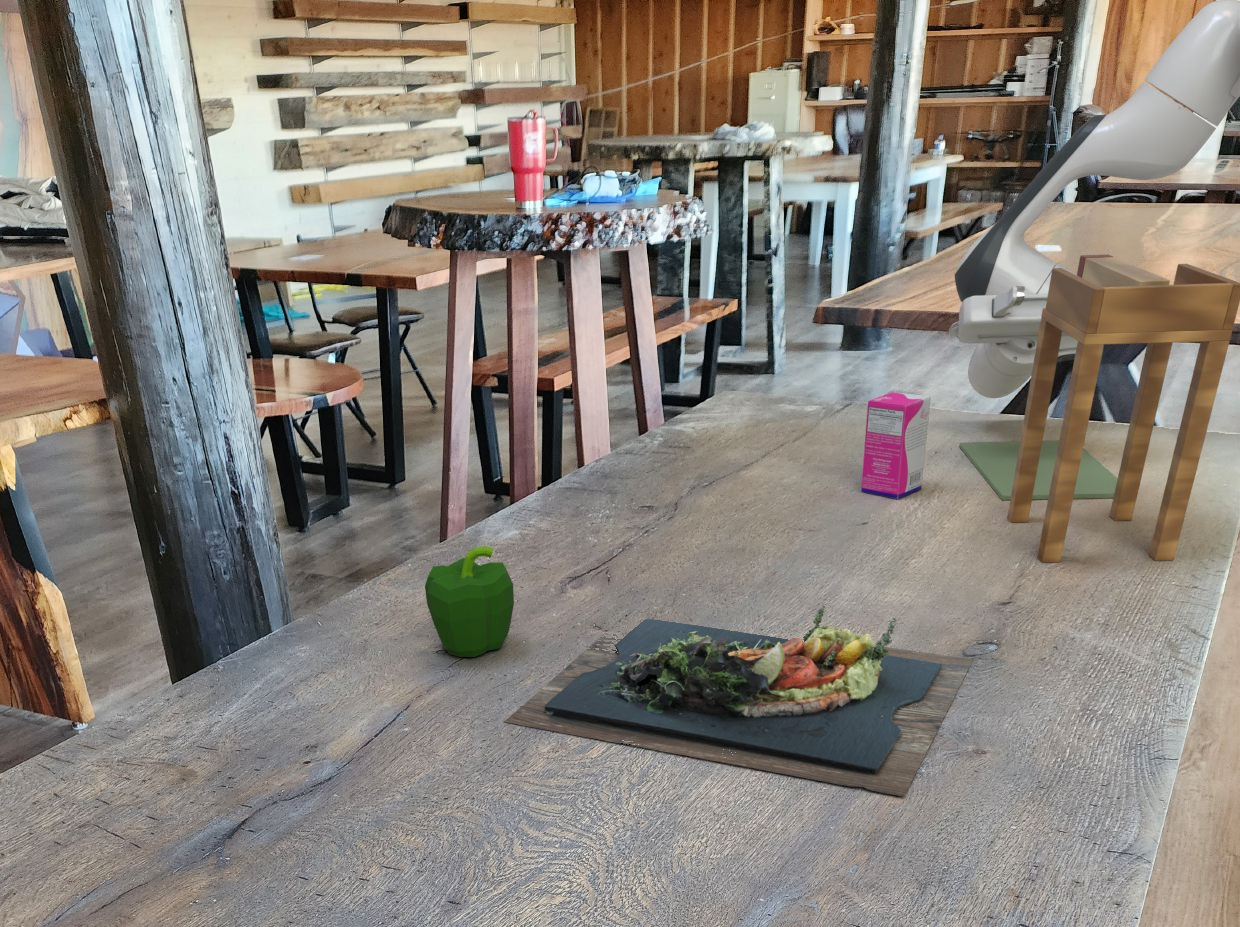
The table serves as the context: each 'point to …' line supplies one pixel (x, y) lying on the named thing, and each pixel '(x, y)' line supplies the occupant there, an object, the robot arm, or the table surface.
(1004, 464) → the rubber mat
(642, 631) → the plated dish
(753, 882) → the table surface
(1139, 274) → the maple bar
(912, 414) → the supplement box
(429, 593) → the bell pepper
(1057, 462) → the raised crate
